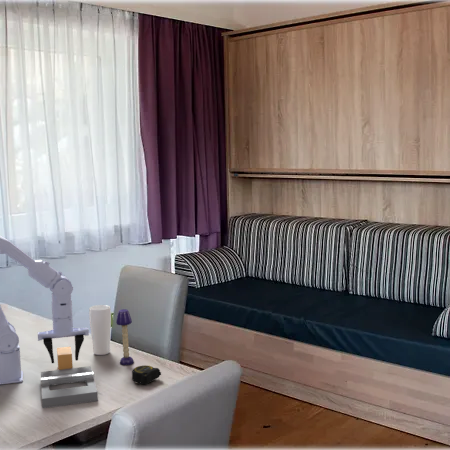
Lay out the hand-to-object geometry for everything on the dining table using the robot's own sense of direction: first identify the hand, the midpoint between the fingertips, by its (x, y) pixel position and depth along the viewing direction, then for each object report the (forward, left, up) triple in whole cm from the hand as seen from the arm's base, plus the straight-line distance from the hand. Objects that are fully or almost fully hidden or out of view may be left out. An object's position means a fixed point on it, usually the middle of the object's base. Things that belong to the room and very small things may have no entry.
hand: (64, 360), depth 190 cm
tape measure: (+22, -17, -3) cm, 27 cm away
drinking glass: (+12, +12, -3) cm, 17 cm away
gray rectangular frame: (0, -16, -3) cm, 16 cm away
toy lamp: (+18, 0, -3) cm, 18 cm away
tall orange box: (0, 0, -3) cm, 3 cm away
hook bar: (0, -16, 0) cm, 16 cm away
